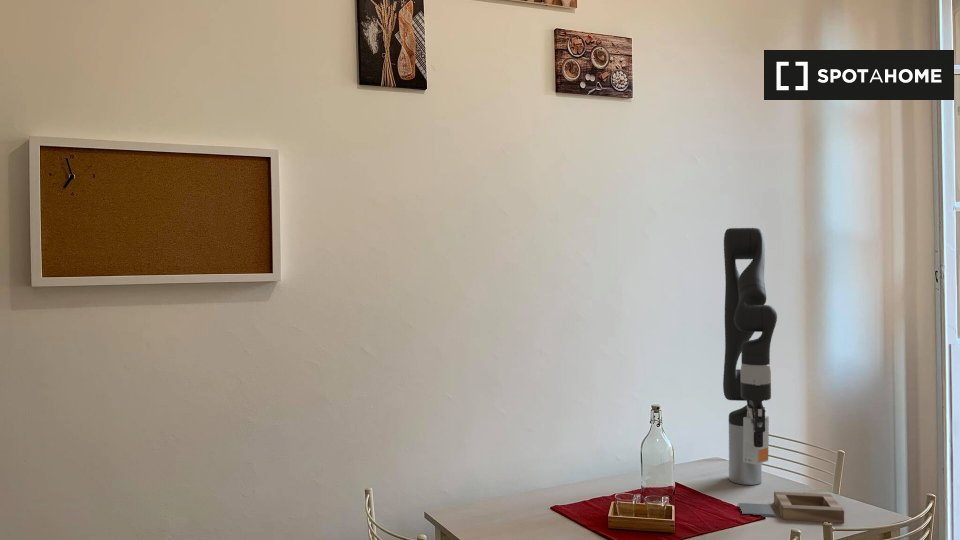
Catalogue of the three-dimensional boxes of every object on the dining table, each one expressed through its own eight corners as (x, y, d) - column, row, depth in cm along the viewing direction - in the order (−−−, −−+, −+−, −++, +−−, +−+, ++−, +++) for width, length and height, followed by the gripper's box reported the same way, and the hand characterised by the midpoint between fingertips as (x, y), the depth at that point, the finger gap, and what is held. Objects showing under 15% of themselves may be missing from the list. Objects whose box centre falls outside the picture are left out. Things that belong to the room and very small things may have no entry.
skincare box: (757, 465, 199) (757, 419, 199) (742, 462, 202) (742, 417, 202) (769, 461, 203) (769, 416, 203) (754, 458, 206) (754, 413, 206)
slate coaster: (738, 505, 207) (738, 502, 207) (769, 506, 206) (769, 504, 206) (742, 515, 200) (742, 512, 200) (775, 516, 198) (775, 514, 198)
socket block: (774, 502, 209) (773, 491, 209) (830, 505, 206) (830, 494, 206) (783, 519, 196) (783, 507, 196) (844, 522, 193) (844, 510, 193)
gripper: (736, 376, 210) (737, 436, 210) (744, 385, 196) (745, 449, 196) (765, 376, 208) (766, 437, 209) (775, 385, 194) (776, 450, 195)
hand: (755, 442), depth 202 cm, fingers closed on skincare box, 7 cm apart
